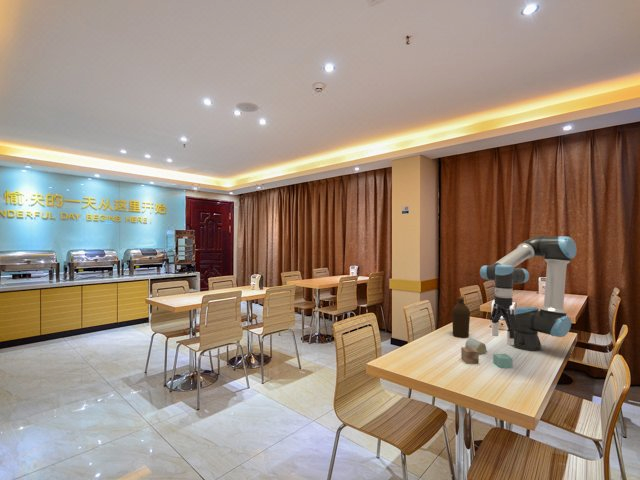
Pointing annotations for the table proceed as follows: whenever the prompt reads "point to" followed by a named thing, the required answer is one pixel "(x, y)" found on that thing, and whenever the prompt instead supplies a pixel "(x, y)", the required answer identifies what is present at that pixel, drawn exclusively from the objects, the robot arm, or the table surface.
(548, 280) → the robot arm
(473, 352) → the walnut block
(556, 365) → the table surface
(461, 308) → the olive oil
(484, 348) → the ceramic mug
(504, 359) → the teal block
